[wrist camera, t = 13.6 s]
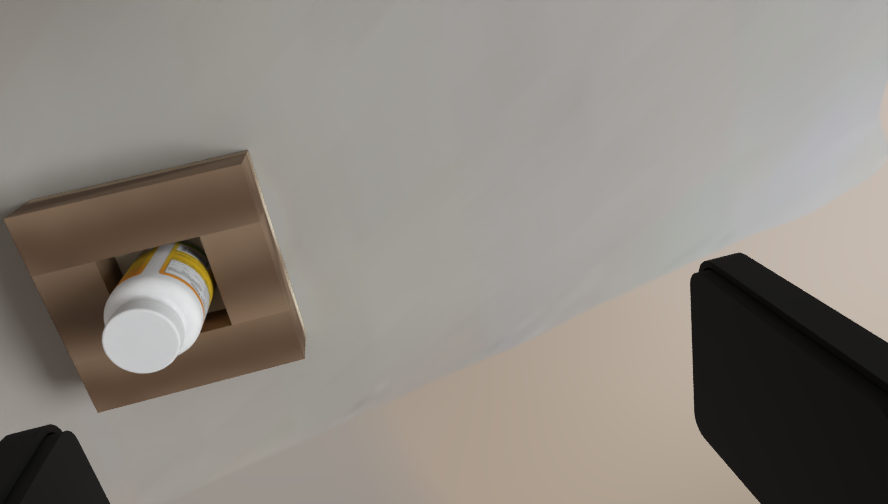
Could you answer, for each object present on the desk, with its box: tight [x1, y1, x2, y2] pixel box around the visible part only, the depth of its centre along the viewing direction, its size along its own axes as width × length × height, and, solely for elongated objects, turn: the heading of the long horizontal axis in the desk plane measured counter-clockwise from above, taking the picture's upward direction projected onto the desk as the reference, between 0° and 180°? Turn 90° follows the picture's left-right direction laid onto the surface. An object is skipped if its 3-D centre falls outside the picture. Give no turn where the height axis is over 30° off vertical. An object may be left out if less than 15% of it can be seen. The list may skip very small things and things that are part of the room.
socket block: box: [3, 150, 306, 413], centre depth 43 cm, size 14×14×4 cm
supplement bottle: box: [102, 240, 217, 373], centre depth 40 cm, size 5×5×10 cm
